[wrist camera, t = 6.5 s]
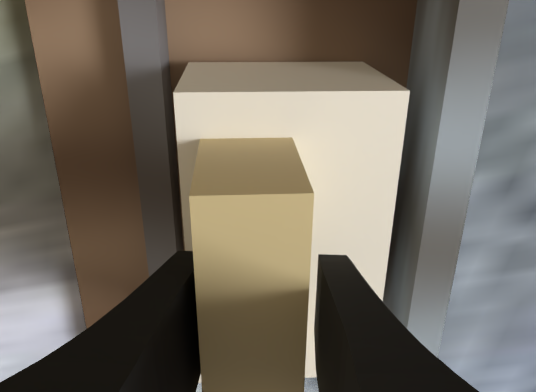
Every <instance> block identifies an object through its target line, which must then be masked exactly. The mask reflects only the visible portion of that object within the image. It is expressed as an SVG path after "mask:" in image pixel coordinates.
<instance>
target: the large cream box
mask: <svg viewBox="0 0 536 392" xmlns="http://www.w3.org/2000/svg"><path fill="white" fill-rule="evenodd" d="M409 95H410V90H408V89H407V88H405V87H403V86H402V85H400V84H398V83H397V82H395V81H394V80H392V79H390V78H389V77H387V76H385V75H384V74H382V73H381V72H379V71H377V70H376V69H374V68H372V67H371V66H369V65H368V64H366V63H364V62H189V63H188V65H187V66H186V68H185V70H184V72H183V74H182V76H181V78H180V80H179V82H178V84H177V86H176V88H175V90H174V92H173V97H174V110H175V124H176V137H177V150H178V164H179V177H180V191H181V204H182V217H183V231H184V244H185V251H193V262H194V277H195V292H196V307H197V322H198V337H199V352H200V367H201V374H200V378H199V381H198V383H202V392H304V380H305V378H309V377H317V375H316V364H315V340H314V321H315V304H316V287H317V270H318V254H327V255H347V256H348V257H349V258H350V260H351V261H352V262H353V264H354V265H355V266H356V268H357V269H358V271H359V272H360V273H361V275H362V276H363V277H364V279H365V280H366V281H367V283H368V284H369V285H370V287H371V288H372V289H373V290H374V292H375V293H376V294H377V295H378V297H379V298H380V299H381V300H382V301H383V295H384V287H385V280H386V272H387V264H388V257H389V249H390V241H391V233H392V226H393V218H394V210H395V203H396V195H397V187H398V180H399V172H400V164H401V157H402V149H403V141H404V134H405V126H406V118H407V111H408V103H409Z"/></svg>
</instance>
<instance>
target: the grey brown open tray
mask: <svg viewBox="0 0 536 392" xmlns="http://www.w3.org/2000/svg"><path fill="white" fill-rule="evenodd" d="M508 3H509V0H25V5H26V10H27V15H28V20H29V26H30V31H31V36H32V42H33V47H34V52H35V58H36V63H37V68H38V73H39V79H40V84H41V89H42V95H43V100H44V105H45V111H46V116H47V121H48V126H49V132H50V137H51V142H52V148H53V153H54V158H55V164H56V169H57V174H58V179H59V185H60V190H61V195H62V201H63V206H64V211H65V217H66V222H67V227H68V232H69V238H70V243H71V248H72V254H73V259H74V264H75V270H76V275H77V280H78V285H79V291H80V296H81V301H82V307H83V312H84V317H85V323H86V328H89V327H90V326H91V325H93V324H94V323H95V322H96V321H98V320H99V319H100V318H102V317H103V316H104V315H105V314H107V313H108V312H109V311H110V310H112V309H113V308H114V307H115V306H117V305H118V304H119V303H120V302H122V301H123V300H124V299H125V298H126V297H127V296H129V295H130V294H131V293H132V292H133V291H134V290H135V289H137V288H138V287H139V286H140V285H141V284H142V283H143V282H144V281H145V280H147V279H148V278H149V277H150V276H151V275H152V274H153V273H154V272H155V271H156V270H157V269H158V268H159V267H161V266H162V265H163V264H164V263H165V262H166V261H167V260H168V259H169V258H170V257H171V256H173V255H174V254H175V253H176V252H177V251H185V244H184V231H183V217H182V204H181V191H180V177H179V164H178V150H177V137H176V124H175V110H174V97H173V92H174V90H175V88H176V86H177V84H178V82H179V80H180V78H181V76H182V74H183V72H184V70H185V68H186V66H187V65H188V63H189V62H364V63H366V64H368V65H369V66H371V67H372V68H374V69H376V70H377V71H379V72H381V73H382V74H384V75H385V76H387V77H389V78H390V79H392V80H394V81H395V82H397V83H398V84H400V85H402V86H403V87H405V88H407V89H408V90H410V95H409V103H408V111H407V118H406V126H405V134H404V141H403V149H402V157H401V164H400V172H399V180H398V187H397V195H396V203H395V210H394V218H393V226H392V233H391V241H390V249H389V257H388V264H387V272H386V280H385V287H384V295H383V302H384V304H385V305H386V306H387V307H388V308H389V309H390V311H391V312H392V313H393V314H394V315H395V316H396V317H397V319H398V320H399V321H400V322H401V323H402V324H403V325H404V326H405V327H406V328H407V329H408V330H409V331H410V332H411V333H412V334H413V335H414V336H415V337H416V339H417V340H418V341H419V342H420V343H421V344H423V345H424V346H425V347H426V348H427V349H428V350H429V351H430V352H431V353H432V354H434V355H435V356H436V357H437V358H438V354H439V349H440V344H441V339H442V334H443V329H444V324H445V319H446V314H447V309H448V304H449V299H450V294H451V289H452V284H453V279H454V274H455V269H456V264H457V259H458V254H459V249H460V244H461V239H462V234H463V228H464V223H465V218H466V213H467V208H468V203H469V198H470V193H471V188H472V183H473V178H474V173H475V168H476V163H477V158H478V153H479V148H480V143H481V138H482V133H483V128H484V123H485V118H486V113H487V108H488V103H489V98H490V93H491V88H492V83H493V78H494V73H495V68H496V63H497V58H498V53H499V48H500V43H501V38H502V33H503V28H504V23H505V18H506V13H507V8H508Z"/></svg>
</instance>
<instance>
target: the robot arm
mask: <svg viewBox="0 0 536 392" xmlns="http://www.w3.org/2000/svg"><path fill="white" fill-rule="evenodd" d="M314 340H315V364H316V375H317V381H318V388H319V392H479V391H478V390H476V389H475V388H473V387H472V386H471V385H470V384H468V383H467V382H466V381H465V380H463V379H462V378H461V377H459V376H458V375H457V374H456V373H454V372H453V371H452V370H451V369H450V368H449V367H448V366H446V365H445V364H444V363H443V362H442V361H441V360H439V359H438V358H437V357H436V356H435V355H434V354H432V353H431V352H430V351H429V350H428V349H427V348H426V347H425V346H424V345H423V344H421V343H420V342H419V341H418V340H417V339H416V337H415V336H414V335H413V334H412V333H411V332H410V331H409V330H408V329H407V328H406V327H405V326H404V325H403V324H402V323H401V322H400V321H399V320H398V319H397V317H396V316H395V315H394V314H393V313H392V312H391V311H390V309H389V308H388V307H387V306H386V305H385V304H384V302H383V301H382V300H381V299H380V298H379V297H378V295H377V294H376V293H375V292H374V290H373V289H372V288H371V287H370V285H369V284H368V283H367V281H366V280H365V279H364V277H363V276H362V275H361V273H360V272H359V271H358V269H357V268H356V266H355V265H354V264H353V262H352V261H351V260H350V258H349V257H348V256H347V255H327V254H318V270H317V287H316V304H315V321H314ZM200 374H201V367H200V352H199V337H198V322H197V307H196V292H195V277H194V262H193V251H177V252H176V253H175V254H174V255H173V256H171V257H170V258H169V259H168V260H167V261H166V262H165V263H164V264H163V265H162V266H161V267H159V268H158V269H157V270H156V271H155V272H154V273H153V274H152V275H151V276H150V277H149V278H148V279H147V280H145V281H144V282H143V283H142V284H141V285H140V286H139V287H138V288H137V289H135V290H134V291H133V292H132V293H131V294H130V295H129V296H127V297H126V298H125V299H124V300H123V301H122V302H120V303H119V304H118V305H117V306H115V307H114V308H113V309H112V310H110V311H109V312H108V313H107V314H105V315H104V316H103V317H102V318H100V319H99V320H98V321H96V322H95V323H94V324H93V325H91V326H90V327H89V328H87V329H86V330H85V331H83V332H82V333H80V334H79V335H77V336H76V337H75V338H73V339H72V340H70V341H69V342H67V343H66V344H64V345H63V346H61V347H60V348H58V349H57V350H55V351H53V352H52V353H50V354H49V355H47V356H46V357H44V358H42V359H41V360H39V361H38V362H36V363H34V364H32V365H30V366H29V367H27V368H25V369H23V370H22V371H20V372H18V373H16V374H15V375H13V376H11V377H9V378H7V379H6V380H4V381H2V382H0V392H196V388H197V385H198V381H199V378H200Z"/></svg>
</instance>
